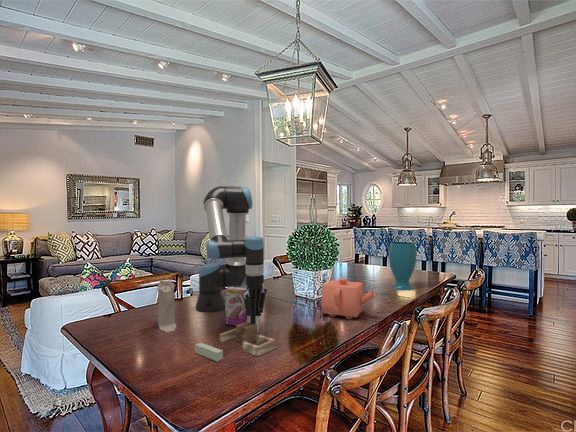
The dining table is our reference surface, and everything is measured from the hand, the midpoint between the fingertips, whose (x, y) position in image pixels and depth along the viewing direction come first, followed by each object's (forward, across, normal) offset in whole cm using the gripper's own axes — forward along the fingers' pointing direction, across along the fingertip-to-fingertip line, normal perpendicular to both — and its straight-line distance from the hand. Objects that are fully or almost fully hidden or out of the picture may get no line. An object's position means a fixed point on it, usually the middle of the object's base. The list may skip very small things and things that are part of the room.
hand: (255, 331), depth 142 cm
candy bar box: (+2, +6, +16) cm, 17 cm away
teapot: (+2, +49, -18) cm, 52 cm away
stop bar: (+2, -24, 0) cm, 24 cm away
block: (+2, -5, 0) cm, 5 cm away
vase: (+3, +124, -18) cm, 125 cm away
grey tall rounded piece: (+2, -15, +39) cm, 42 cm away
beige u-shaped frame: (+2, -8, -4) cm, 9 cm away
